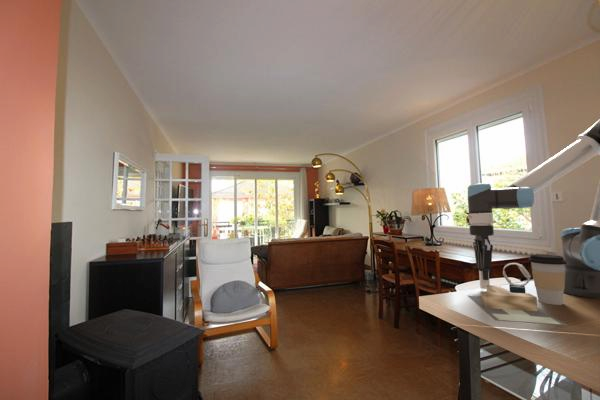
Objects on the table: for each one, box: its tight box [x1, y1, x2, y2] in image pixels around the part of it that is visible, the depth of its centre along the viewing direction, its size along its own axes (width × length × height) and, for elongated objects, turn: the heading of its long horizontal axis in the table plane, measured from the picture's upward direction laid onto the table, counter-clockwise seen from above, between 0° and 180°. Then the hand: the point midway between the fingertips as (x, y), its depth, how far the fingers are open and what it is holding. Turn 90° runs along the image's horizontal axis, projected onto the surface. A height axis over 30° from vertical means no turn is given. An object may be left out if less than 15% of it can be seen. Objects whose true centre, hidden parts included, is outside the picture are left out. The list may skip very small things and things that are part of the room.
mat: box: [467, 295, 569, 326], centre depth 83 cm, size 16×24×1 cm, turn 164°
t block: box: [480, 284, 539, 311], centre depth 88 cm, size 13×13×4 cm
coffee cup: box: [527, 253, 567, 306], centre depth 89 cm, size 9×9×15 cm
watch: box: [502, 262, 532, 293], centre depth 98 cm, size 6×8×11 cm
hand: (484, 288), depth 102 cm, fingers closed
